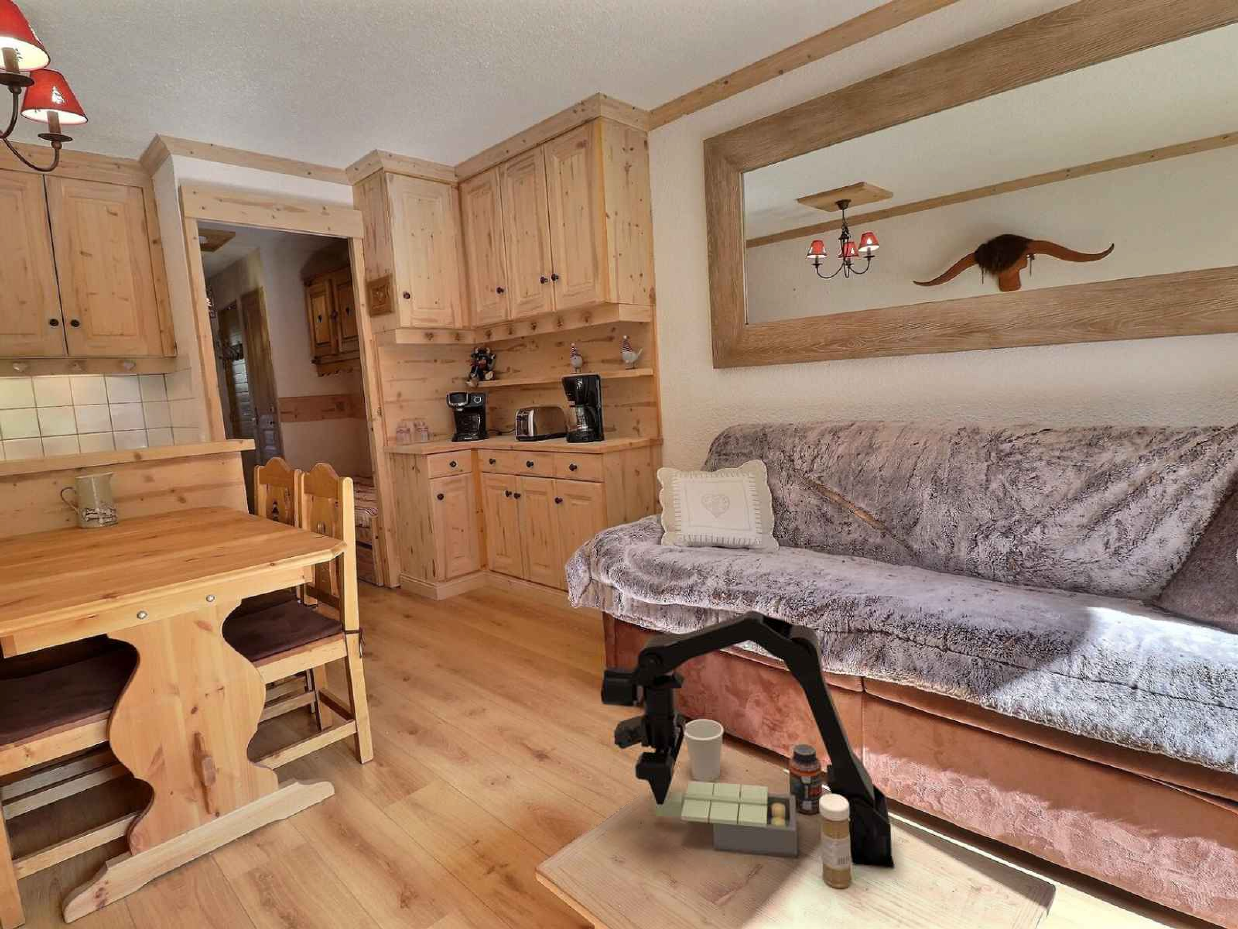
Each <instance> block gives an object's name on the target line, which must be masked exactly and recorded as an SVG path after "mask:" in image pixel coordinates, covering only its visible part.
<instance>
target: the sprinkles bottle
mask: <svg viewBox="0 0 1238 929" xmlns="http://www.w3.org/2000/svg"><path fill="white" fill-rule="evenodd" d="M818 812H819V814H820V825H821V826H820V838H821V841H820V842H821V859H822V879H823V880H824V882H825V883H826V884H827V885H828V886H830V887H832V888H835V889H845V888H847V887H849V886H851V884H852V880H853V878H852V872H851V869H852V868H851V864H852V858H851V853H850V833H849V814H850V812H849V803H848V801H847V800H846V799H845V798H844V797H842V796H840V795H837V794H832V793H826V794H822V797H821V798H820V800H819V811H818Z"/></svg>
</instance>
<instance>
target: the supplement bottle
mask: <svg viewBox="0 0 1238 929" xmlns="http://www.w3.org/2000/svg"><path fill="white" fill-rule="evenodd" d="M816 753H817V752H816V749H815V747H814V746H813V745H810V744H806V743H800V744H799V743H798V744H796V745H794V747H793V755H792V756H791V757H790V758H789V761H788V769H789V770H788V773H789V775H788V776H789V795H795V804H796V812H799V813H803V814H806V815H807V814H810V815H811V814H815V813H818V812H820V811H819V800H820V798H821V797H822V796H823V781H822V780H823V779H822V778H823V777H822V776H823V775H822V763H821V761H820V759H819V758H818V757H817V754H816Z"/></svg>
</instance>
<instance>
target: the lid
mask: <svg viewBox="0 0 1238 929" xmlns="http://www.w3.org/2000/svg"><path fill="white" fill-rule="evenodd" d="M740 791H741V797H740ZM768 792H769V789H768V786H763V785H762V786H761V785H749V784H748V785H747V784H738V783H737V784H735V783H724V782H722V783H721V782H712V781H711V782H702V781H698V780H696V781H694V780H689V781H688V785H687V788H686V792H685V794H684V791H683V792H682V791H670V790H668V792H667V795H666V798H665V801H664V804H663V805H659V804H657V802H656V800H655V798H654V799H653V801H654V802H653V803H654V816H659V817H669V818H679V819H680V820H681V821H686V822H687V821H688V822H689V821H690V822H700V823H711V824H713V823H721V824H732V825H737V821H738V824H739V825H743V826H754V827H765V828H767V800H768ZM739 804H740V809H739ZM738 811H739V819H738Z"/></svg>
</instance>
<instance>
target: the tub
mask: <svg viewBox="0 0 1238 929" xmlns="http://www.w3.org/2000/svg"><path fill="white" fill-rule="evenodd" d="M740 797H741V790H740ZM739 809H740V804H739ZM738 819H739V811H738ZM712 828H713V830H712V831H713V844H714V845H713V846H714V848H713V849H714V851H718V852H719V851H720V852H729V853H739V854H748V855H758V856H766V857H767V856H768V857H778V858H779V857H780V858H789V859H798V856H799V855H798V833H797V832H798V831H797V830H798V829H797V810H796V804H795V795H790V794H783V793H768V800H767V828H765V827H754V826H743V825H739V824H738V821H737V825H732V824H721V823H712Z"/></svg>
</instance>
